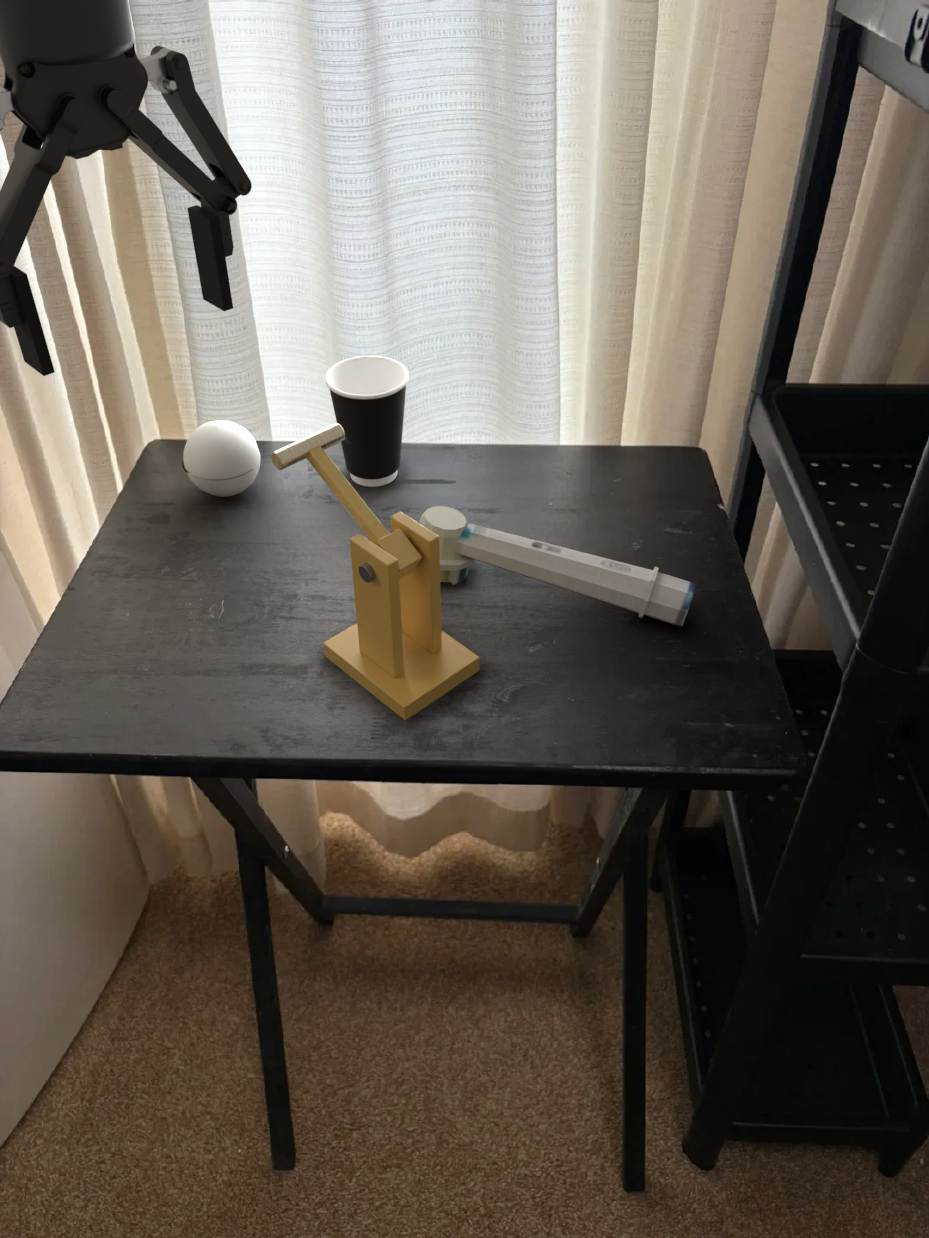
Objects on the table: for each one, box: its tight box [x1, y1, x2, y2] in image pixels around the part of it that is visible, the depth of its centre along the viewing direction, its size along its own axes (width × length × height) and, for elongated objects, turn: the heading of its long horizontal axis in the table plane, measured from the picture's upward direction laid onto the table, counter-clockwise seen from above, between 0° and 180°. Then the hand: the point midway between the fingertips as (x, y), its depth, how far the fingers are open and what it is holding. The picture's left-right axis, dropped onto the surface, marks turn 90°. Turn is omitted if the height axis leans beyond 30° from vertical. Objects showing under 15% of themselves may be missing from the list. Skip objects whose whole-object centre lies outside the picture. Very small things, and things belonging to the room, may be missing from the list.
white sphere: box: [181, 419, 261, 498], centre depth 100 cm, size 10×7×7 cm
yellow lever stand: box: [322, 511, 481, 721], centre depth 81 cm, size 10×8×13 cm
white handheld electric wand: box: [418, 505, 697, 628], centre depth 90 cm, size 5×7×25 cm
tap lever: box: [270, 422, 422, 580], centre depth 79 cm, size 13×6×2 cm, turn 45°
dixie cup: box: [324, 355, 410, 488], centre depth 102 cm, size 8×8×11 cm
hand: (133, 334), depth 71 cm, fingers open, 13 cm apart
